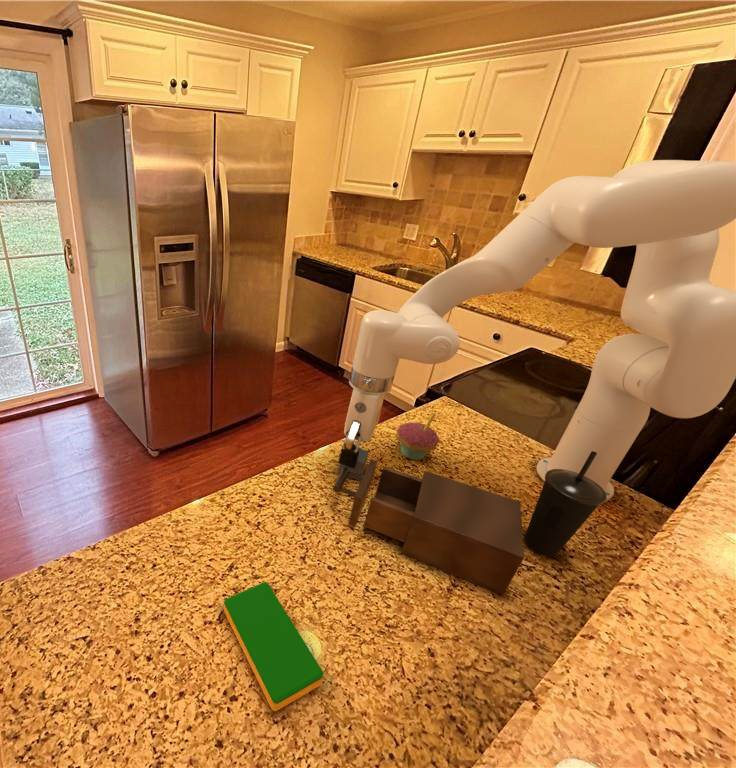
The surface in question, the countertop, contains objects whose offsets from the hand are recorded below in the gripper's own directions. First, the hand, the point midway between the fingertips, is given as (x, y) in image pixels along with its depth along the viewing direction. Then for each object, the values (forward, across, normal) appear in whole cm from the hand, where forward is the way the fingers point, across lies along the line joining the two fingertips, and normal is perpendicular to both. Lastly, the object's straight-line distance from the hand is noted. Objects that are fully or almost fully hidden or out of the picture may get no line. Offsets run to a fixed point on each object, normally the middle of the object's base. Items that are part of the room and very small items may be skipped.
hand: (353, 452), depth 84 cm
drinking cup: (+5, -2, -33) cm, 34 cm away
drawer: (+4, -10, -8) cm, 14 cm away
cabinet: (+5, -10, -20) cm, 23 cm away
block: (+5, 0, 0) cm, 5 cm away
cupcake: (+5, +13, -10) cm, 17 cm away
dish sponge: (+5, -41, 0) cm, 41 cm away
